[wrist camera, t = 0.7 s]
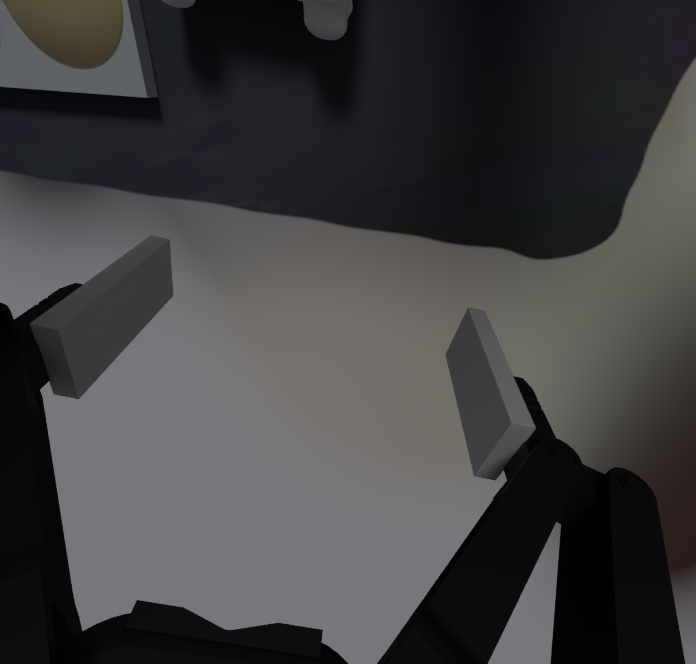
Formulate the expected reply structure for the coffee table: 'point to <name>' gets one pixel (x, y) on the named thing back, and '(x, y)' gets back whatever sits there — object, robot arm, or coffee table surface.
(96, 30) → the panel
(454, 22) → the coffee table surface
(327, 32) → the bone shaped toy
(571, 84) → the coffee table surface
